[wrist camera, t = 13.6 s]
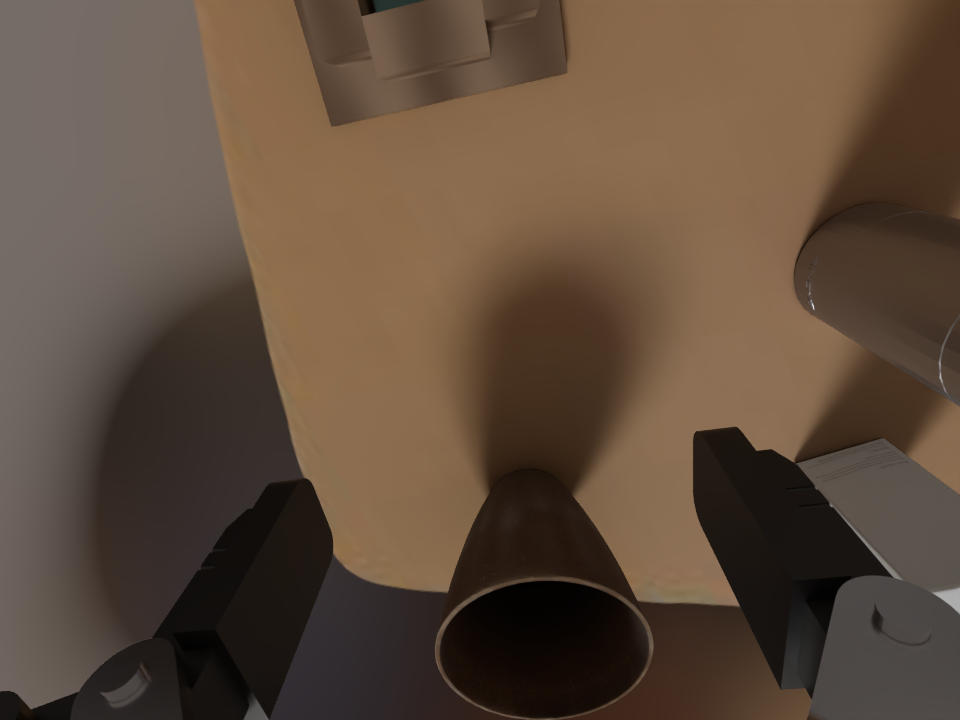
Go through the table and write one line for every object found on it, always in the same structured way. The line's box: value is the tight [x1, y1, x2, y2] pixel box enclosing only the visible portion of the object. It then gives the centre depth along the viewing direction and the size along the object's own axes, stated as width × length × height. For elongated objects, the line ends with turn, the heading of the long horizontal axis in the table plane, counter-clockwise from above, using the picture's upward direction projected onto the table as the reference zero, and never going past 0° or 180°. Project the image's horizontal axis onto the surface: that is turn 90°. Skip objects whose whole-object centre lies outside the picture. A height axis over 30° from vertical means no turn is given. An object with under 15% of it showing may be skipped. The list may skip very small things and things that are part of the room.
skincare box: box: [796, 438, 960, 614], centre depth 40 cm, size 8×6×15 cm
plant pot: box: [435, 469, 653, 720], centre depth 42 cm, size 15×15×16 cm
